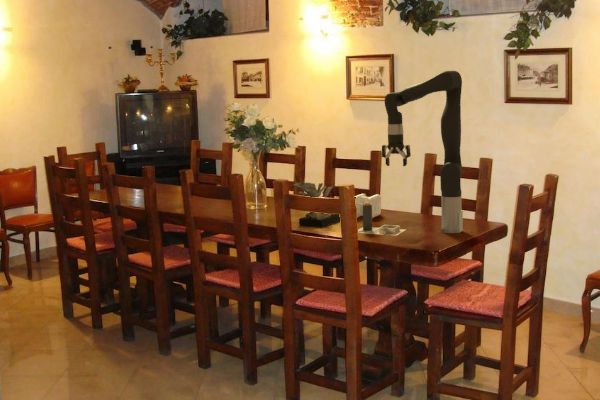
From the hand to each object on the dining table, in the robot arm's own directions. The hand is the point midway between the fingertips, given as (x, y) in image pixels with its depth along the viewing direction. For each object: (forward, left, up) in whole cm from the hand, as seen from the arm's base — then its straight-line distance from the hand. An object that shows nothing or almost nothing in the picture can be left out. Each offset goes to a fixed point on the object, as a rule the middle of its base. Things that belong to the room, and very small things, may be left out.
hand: (396, 165), depth 370 cm
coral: (+42, +8, -30) cm, 52 cm away
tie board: (+1, +22, -30) cm, 37 cm away
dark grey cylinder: (+7, +22, -28) cm, 37 cm away
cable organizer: (+22, -16, -30) cm, 40 cm away
